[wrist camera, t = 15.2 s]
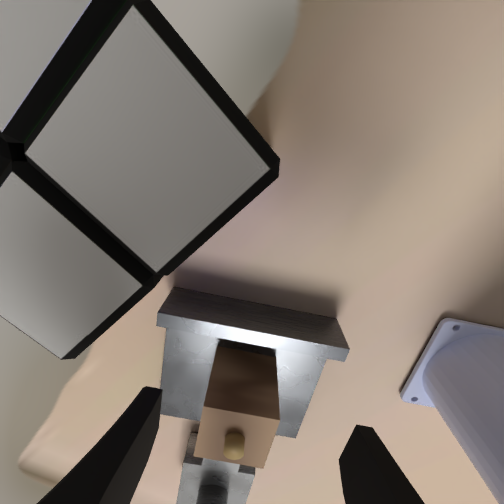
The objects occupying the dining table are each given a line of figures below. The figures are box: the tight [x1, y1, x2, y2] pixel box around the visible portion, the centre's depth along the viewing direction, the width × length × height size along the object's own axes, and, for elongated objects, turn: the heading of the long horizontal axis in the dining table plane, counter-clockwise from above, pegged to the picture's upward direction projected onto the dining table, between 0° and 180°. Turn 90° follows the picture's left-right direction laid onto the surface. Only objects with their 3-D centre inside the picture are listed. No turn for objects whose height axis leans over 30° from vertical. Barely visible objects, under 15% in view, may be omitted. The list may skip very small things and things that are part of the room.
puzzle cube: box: [0, 0, 280, 360], centre depth 11 cm, size 10×10×10 cm
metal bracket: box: [156, 287, 350, 438], centre depth 20 cm, size 12×12×3 cm
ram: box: [176, 433, 255, 504], centre depth 22 cm, size 6×9×7 cm, turn 169°
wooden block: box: [194, 346, 280, 468], centre depth 18 cm, size 4×4×6 cm
